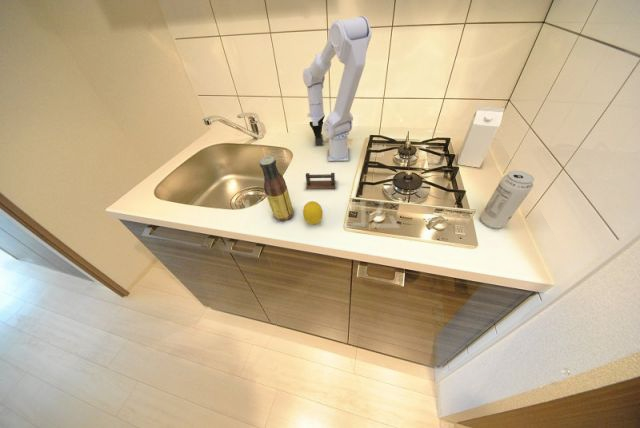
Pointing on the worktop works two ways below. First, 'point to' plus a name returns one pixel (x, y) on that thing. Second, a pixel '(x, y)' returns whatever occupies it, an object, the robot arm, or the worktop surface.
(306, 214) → the lemon
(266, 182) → the sauce bottle
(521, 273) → the worktop surface
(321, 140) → the clip
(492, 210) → the energy drink can
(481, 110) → the milk carton
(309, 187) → the handle rail
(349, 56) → the robot arm
